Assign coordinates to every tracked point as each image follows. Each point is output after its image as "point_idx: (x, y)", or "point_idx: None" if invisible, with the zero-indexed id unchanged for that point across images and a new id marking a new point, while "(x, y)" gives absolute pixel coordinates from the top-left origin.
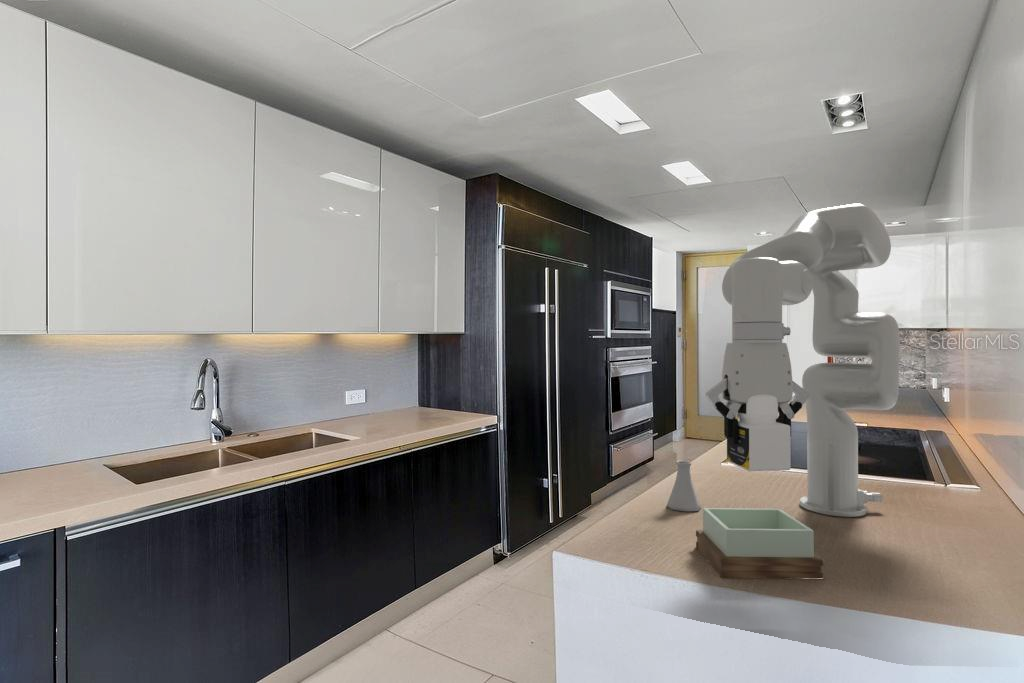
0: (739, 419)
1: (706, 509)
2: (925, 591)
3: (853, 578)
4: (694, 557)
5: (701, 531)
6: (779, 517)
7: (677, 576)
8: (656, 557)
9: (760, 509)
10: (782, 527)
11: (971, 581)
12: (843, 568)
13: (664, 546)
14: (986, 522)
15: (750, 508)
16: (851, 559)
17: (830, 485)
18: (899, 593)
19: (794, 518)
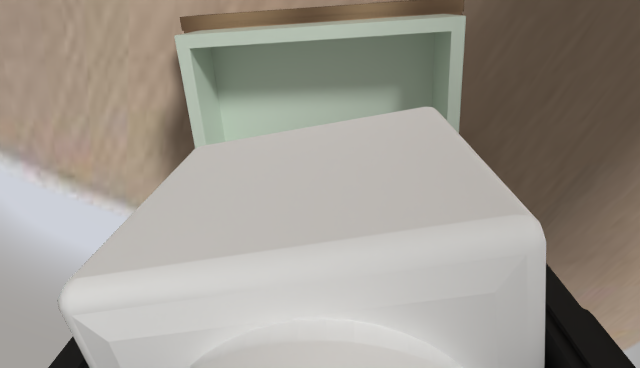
0: (180, 337)
1: (184, 54)
2: (617, 231)
3: (512, 183)
4: (183, 92)
5: (195, 29)
6: (444, 43)
7: (137, 202)
8: (90, 101)
9: (386, 33)
10: (437, 62)
11: None
12: (528, 130)
13: (108, 16)
14: None
15: (352, 24)
16: (593, 68)
17: None
18: (555, 243)
19: (457, 131)
